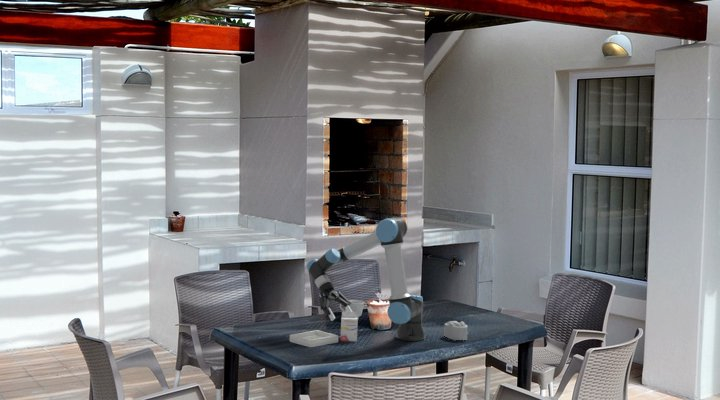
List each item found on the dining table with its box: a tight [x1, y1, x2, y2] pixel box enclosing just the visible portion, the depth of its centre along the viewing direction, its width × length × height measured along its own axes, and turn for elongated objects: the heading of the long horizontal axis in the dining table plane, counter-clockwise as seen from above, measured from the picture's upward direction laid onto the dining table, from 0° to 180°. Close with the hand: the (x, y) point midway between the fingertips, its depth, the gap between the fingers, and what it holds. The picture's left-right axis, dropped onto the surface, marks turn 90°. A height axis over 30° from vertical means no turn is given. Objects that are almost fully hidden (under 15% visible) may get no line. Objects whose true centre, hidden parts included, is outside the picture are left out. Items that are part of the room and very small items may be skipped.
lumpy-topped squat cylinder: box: [443, 320, 469, 342], centre depth 477 cm, size 10×13×9 cm
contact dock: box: [289, 329, 339, 348], centre depth 457 cm, size 16×19×4 cm
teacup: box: [339, 299, 365, 320], centre depth 519 cm, size 12×15×10 cm
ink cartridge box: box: [340, 310, 359, 342], centre depth 463 cm, size 9×5×15 cm, turn 92°
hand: (343, 318), depth 465 cm, fingers open, 13 cm apart
